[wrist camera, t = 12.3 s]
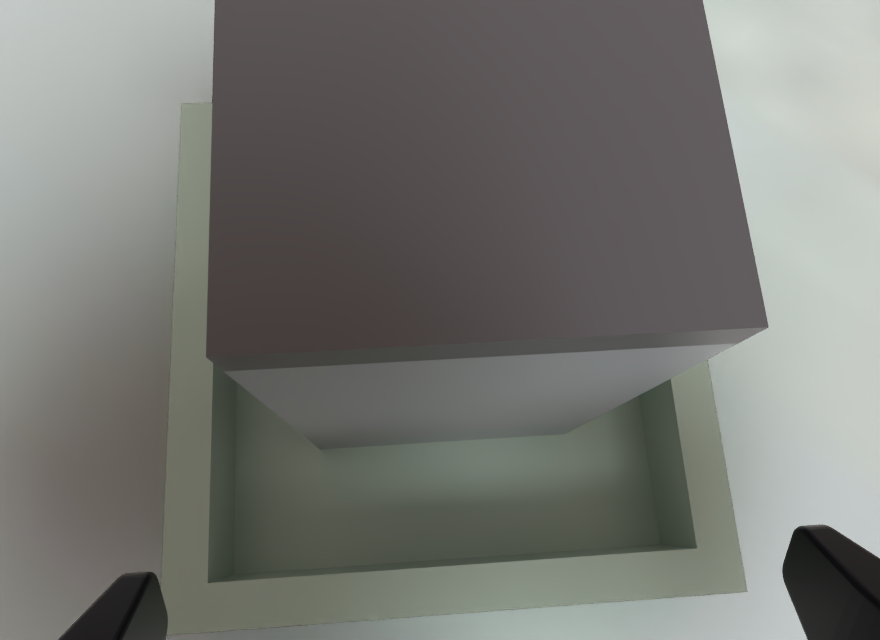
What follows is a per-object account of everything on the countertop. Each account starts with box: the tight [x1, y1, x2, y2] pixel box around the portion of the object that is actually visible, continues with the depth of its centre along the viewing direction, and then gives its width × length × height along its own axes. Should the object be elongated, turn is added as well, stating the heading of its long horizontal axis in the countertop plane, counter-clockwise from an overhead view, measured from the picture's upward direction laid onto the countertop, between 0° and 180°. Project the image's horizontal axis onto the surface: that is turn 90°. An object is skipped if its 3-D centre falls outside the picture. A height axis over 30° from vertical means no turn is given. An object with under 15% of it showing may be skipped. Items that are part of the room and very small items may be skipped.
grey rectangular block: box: [206, 0, 768, 449], centre depth 14 cm, size 6×7×11 cm
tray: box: [161, 103, 747, 636], centre depth 18 cm, size 13×13×3 cm
